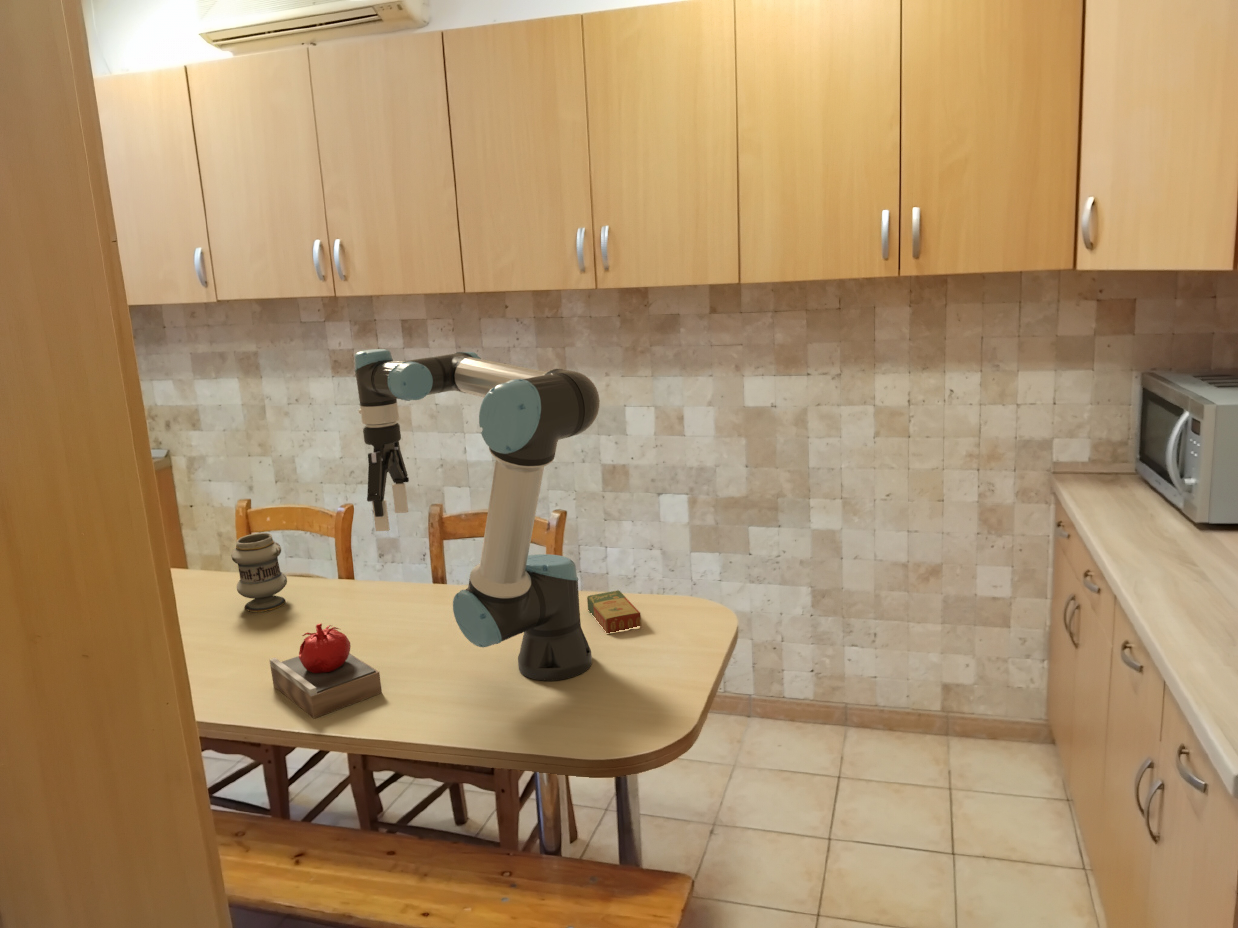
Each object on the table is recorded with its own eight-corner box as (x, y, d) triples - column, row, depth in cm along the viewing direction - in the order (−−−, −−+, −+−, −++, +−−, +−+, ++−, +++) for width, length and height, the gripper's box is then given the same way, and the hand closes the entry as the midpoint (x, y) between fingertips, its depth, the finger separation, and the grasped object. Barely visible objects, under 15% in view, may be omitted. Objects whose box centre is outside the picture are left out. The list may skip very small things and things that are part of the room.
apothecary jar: (230, 608, 239) (219, 540, 235) (272, 593, 248) (262, 527, 244) (257, 617, 232) (246, 547, 228) (299, 601, 241) (289, 533, 237)
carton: (606, 636, 208) (605, 618, 207) (587, 611, 223) (585, 594, 222) (642, 629, 211) (641, 611, 210) (620, 605, 226) (619, 588, 225)
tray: (381, 692, 187) (378, 665, 186) (314, 718, 178) (310, 689, 177) (337, 663, 202) (334, 638, 200) (273, 686, 193) (269, 659, 192)
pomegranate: (362, 657, 192) (356, 615, 190) (332, 679, 183) (325, 634, 181) (321, 653, 196) (315, 611, 194) (290, 674, 186) (283, 630, 184)
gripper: (382, 414, 210) (392, 506, 215) (342, 436, 186) (355, 539, 191) (415, 412, 210) (425, 504, 214) (379, 434, 185) (392, 538, 190)
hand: (392, 521), depth 203 cm, fingers open, 13 cm apart
